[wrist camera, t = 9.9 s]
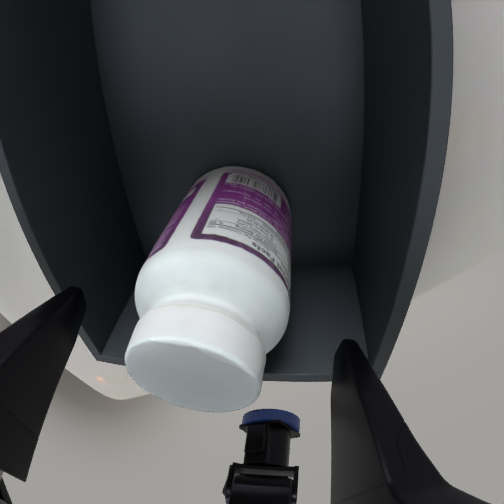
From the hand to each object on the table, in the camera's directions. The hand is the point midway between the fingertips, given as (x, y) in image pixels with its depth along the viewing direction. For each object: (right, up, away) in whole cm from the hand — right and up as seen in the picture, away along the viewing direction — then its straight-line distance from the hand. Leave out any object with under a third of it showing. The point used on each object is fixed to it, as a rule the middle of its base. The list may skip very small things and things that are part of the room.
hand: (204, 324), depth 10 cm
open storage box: (0, +11, +2) cm, 11 cm away
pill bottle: (+1, +4, +6) cm, 8 cm away
